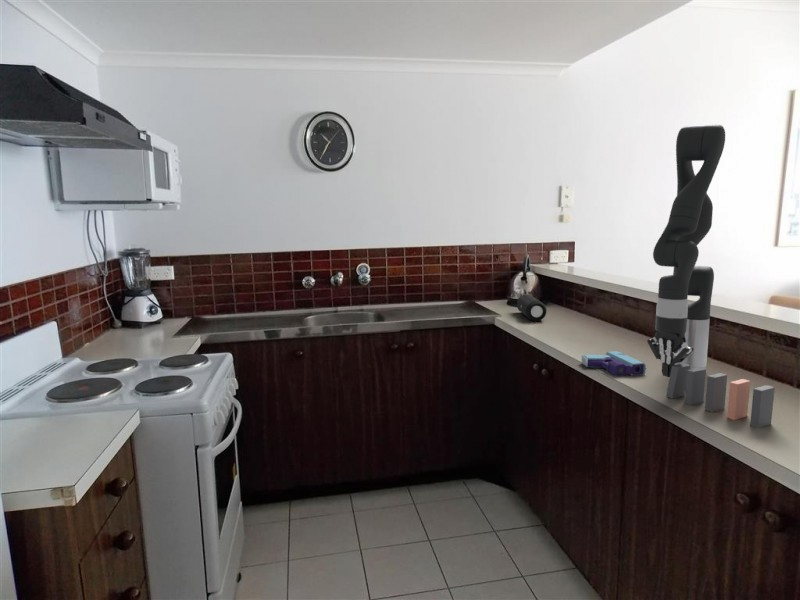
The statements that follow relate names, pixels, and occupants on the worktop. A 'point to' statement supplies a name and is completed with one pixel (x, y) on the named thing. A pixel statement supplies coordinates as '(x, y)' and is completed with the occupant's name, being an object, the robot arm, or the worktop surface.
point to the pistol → (615, 363)
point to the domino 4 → (738, 399)
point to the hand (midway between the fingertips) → (667, 375)
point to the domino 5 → (762, 406)
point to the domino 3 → (716, 392)
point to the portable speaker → (531, 307)
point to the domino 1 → (677, 380)
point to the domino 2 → (695, 386)
